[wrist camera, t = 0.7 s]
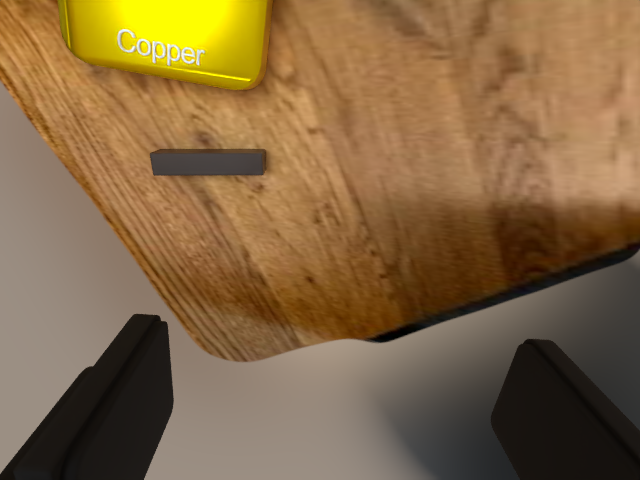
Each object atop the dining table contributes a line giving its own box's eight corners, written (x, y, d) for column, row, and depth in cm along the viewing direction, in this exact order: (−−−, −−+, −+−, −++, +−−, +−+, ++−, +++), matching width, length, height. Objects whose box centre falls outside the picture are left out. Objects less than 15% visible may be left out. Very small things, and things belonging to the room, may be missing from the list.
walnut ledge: (160, 149, 34) (149, 153, 32) (265, 149, 34) (262, 153, 32) (163, 170, 35) (153, 175, 33) (266, 169, 35) (263, 175, 33)
